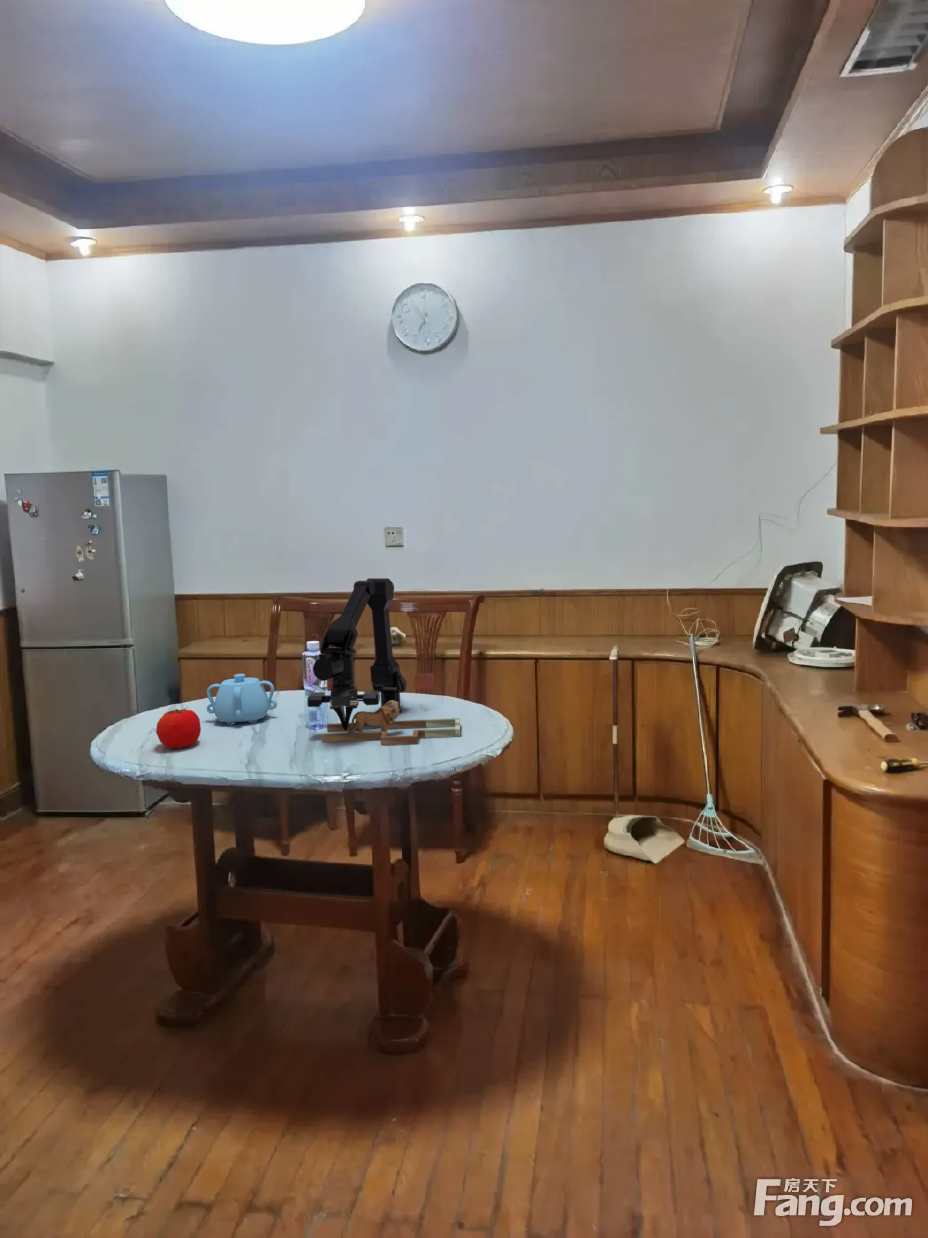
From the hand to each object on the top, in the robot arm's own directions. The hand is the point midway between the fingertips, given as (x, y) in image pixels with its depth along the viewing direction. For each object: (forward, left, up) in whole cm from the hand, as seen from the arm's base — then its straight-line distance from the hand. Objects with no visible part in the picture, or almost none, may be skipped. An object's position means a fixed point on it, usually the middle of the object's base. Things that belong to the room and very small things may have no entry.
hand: (345, 730), depth 250 cm
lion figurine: (0, +8, -2) cm, 8 cm away
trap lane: (0, +13, -2) cm, 13 cm away
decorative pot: (-22, -33, -2) cm, 39 cm away
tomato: (+3, -44, -2) cm, 44 cm away
